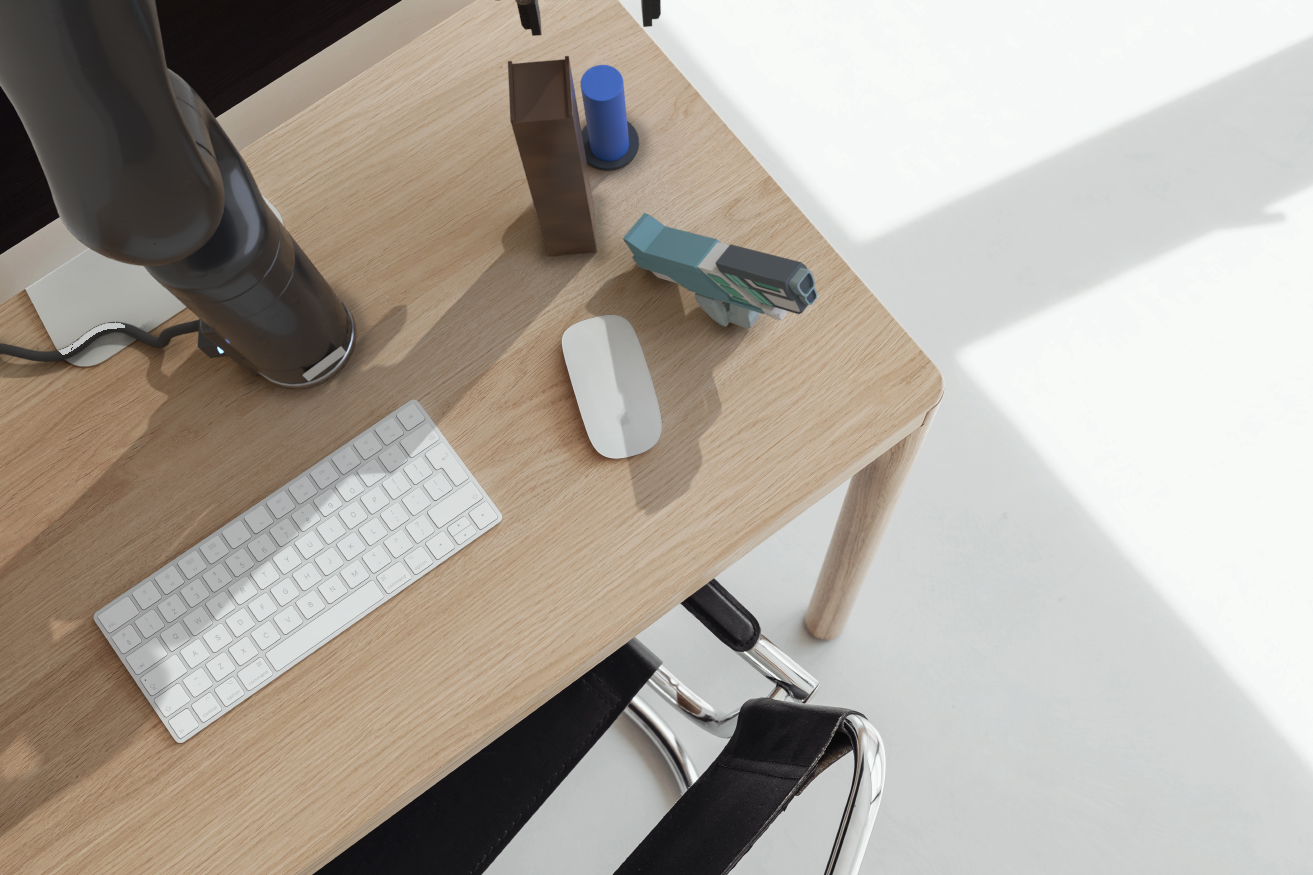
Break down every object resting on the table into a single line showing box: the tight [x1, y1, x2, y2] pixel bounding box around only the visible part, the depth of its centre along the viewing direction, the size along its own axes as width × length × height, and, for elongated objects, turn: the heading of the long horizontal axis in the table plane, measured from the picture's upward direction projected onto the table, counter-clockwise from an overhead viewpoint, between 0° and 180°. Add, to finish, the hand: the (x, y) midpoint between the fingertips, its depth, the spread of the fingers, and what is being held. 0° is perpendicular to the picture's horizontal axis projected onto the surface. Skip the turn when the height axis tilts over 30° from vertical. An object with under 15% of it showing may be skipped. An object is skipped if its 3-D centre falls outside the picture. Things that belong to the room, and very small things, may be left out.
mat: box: [581, 120, 640, 171], centre depth 93 cm, size 6×6×1 cm
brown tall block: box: [507, 55, 598, 257], centre depth 81 cm, size 4×5×20 cm
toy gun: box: [622, 212, 818, 329], centre depth 82 cm, size 4×19×10 cm
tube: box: [580, 64, 629, 161], centre depth 88 cm, size 9×4×4 cm
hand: (592, 22), depth 77 cm, fingers open, 8 cm apart
